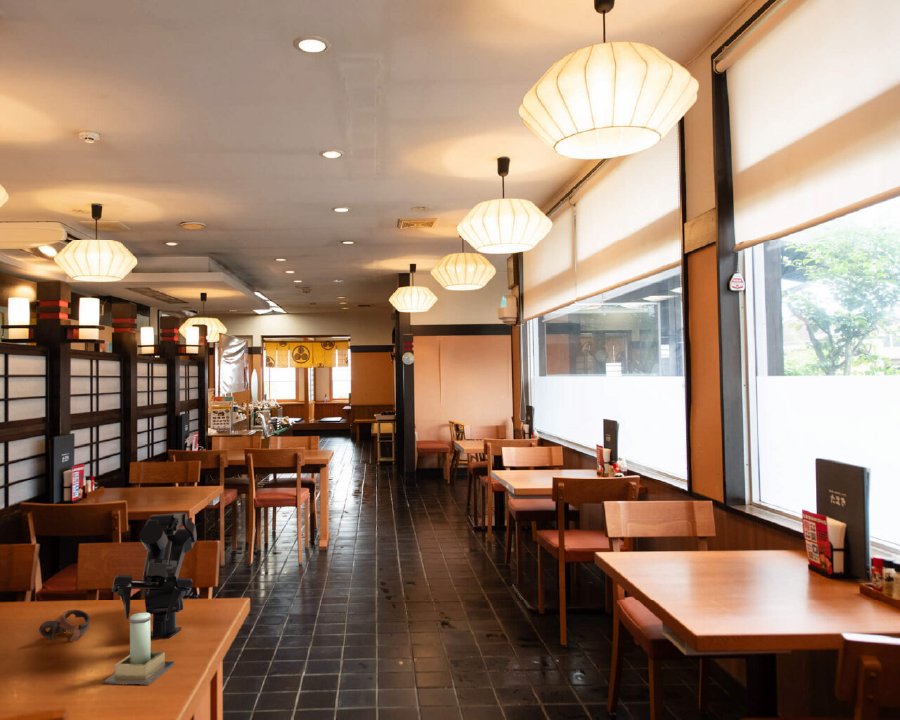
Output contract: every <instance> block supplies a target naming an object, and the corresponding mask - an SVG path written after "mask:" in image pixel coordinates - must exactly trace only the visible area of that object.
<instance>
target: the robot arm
mask: <svg viewBox="0 0 900 720" xmlns="http://www.w3.org/2000/svg"><path fill="white" fill-rule="evenodd" d="M180 527H182V528H180ZM197 533H198V532H197V528H196V524H195V523H194V522H193V521H192V520H191V519H189V517H188V513H185V512H173V513H167V514H166V513H164V514H152V515H150V516H149V519H147V521H146V523H145V524H144V527H142V529H141V530H140V531H139V534H138V535H139V537H138V538H139V540H140V542H141V544H142V545H143V547H144V549H145V550H147V551H146V557H145V562H144V568H143V574H142V580H138V579H133V575H130V574H117V575H116V576H115V577H114V580H113V583H112V588H111V592H112V593H116V596H117V597H120V599H121V601H122V604H123V608H124V614H125V618H126V620H129V618H130V613H131V610H130V609H131V597H132V595H131V594H132V589H147V590H148V591H147V592H146V593H145V596H144V605H145V613H150V614H151V615H152V631H151V632H150V638H156V639H159V638H164V639H169V638H171V637H173V636H174V635H175V634H177V633H178V632H179V631H181V630H182V627H181V626H177V613H180V612H181V611H183V610H184V600H183V599H184V597H185V596H188V595H190V593H191V591H192V588H193V581H194V580H193V579H192V578H191V577H190V578H189V577H179V575H180V572H181V568H182V564H183V562H184V558H185V555H186V554H187V553H189V552H190V551H191V550H193V548H194V545H195V543H196V542H197V537H198V536H197V535H198V534H197Z"/></svg>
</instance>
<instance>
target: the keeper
mask: <svg viewBox="0 0 900 720" xmlns="http://www.w3.org/2000/svg"><path fill="white" fill-rule="evenodd" d="M165 655H166V651H151V660H150V661H149V662H147V663H146V664H130V654H128V655H127V656H125V657H124V658H123V659H121V660H120V661H118V662H117V663H116V664H114V673H113V674H112V675H110V676H109V677H107V678H106V679H105V680H103V684H104V683H111V684H110V685H119V684H118V683H124V684H123V685H126V683H127V684H145V685H144V686H150V685H151V684H152V683H153V682H154V681H156V680H155V679H159V678H160V677H161V676H162V675H163V674H164V673H165V672H167V671H168V670H169V669H170V668H172V667H173V666H174V665H176V663H175V661H170V660H169V661H166V660H165V659H166V658H165V657H166V656H165ZM151 682H152V683H151ZM114 683H116V684H114ZM150 683H151V684H150Z"/></svg>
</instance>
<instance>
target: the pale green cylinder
mask: <svg viewBox="0 0 900 720" xmlns="http://www.w3.org/2000/svg"><path fill="white" fill-rule="evenodd" d="M151 619H152V614H150V613H146V612H138V613H135V614H131V616H130V615H129V618H128V620H129V655H130V664H146V663H147V662H149V661H150V660H151V652H152V650H151V637H150V634H151Z"/></svg>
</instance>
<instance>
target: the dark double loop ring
mask: <svg viewBox="0 0 900 720" xmlns="http://www.w3.org/2000/svg"><path fill="white" fill-rule="evenodd" d="M71 615H74V617H75V618H83V619H84V623H81V624H78V628H75V627H76V624H75V623H74V622H73V623H72V622H70V621H69V620H68V619H69V617H71ZM90 621H91V618H90V615H89V614H87V612H85V611H83V610H80V609H68V610H66V611H64V612H63V613H62V614H61V615H59V616H58V617H56V618H55V620H46V621H44V622H43V623H41V625H39V628H38V630H39V634H40V635H41V636H42V637H44V638H47V639H48V641H53V640H54V636H55V635H58V634H65V633H64V632H66V633H67V631H68V632H71V633H72V635H71V637H70V638H69V639H70V642H74V641H75V642H76V640H77V641H78V640H79V638H80V637H83V635H85V634H86V633H87V632H88V631H89V629H90ZM46 629H49V630H46Z"/></svg>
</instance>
